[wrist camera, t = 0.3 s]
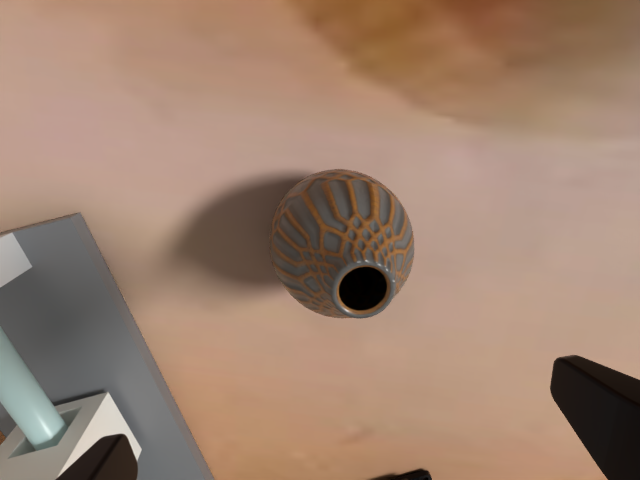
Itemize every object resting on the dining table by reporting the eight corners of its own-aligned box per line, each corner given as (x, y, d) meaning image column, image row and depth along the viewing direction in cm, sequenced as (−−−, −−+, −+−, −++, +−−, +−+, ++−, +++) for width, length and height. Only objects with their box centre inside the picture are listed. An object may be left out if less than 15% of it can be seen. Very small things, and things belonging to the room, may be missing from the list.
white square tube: (141, 449, 23) (99, 557, 18) (66, 470, 23) (-1, 585, 17) (108, 391, 21) (48, 491, 16) (26, 414, 21) (-63, 522, 16)
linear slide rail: (232, 515, 28) (221, 614, 23) (109, 549, 28) (68, 658, 23) (80, 212, 19) (-1, 254, 14) (-106, 259, 19) (-267, 322, 13)
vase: (257, 258, 21) (245, 351, 13) (289, 144, 19) (299, 170, 11) (363, 284, 23) (412, 382, 15) (403, 181, 21) (487, 227, 12)
